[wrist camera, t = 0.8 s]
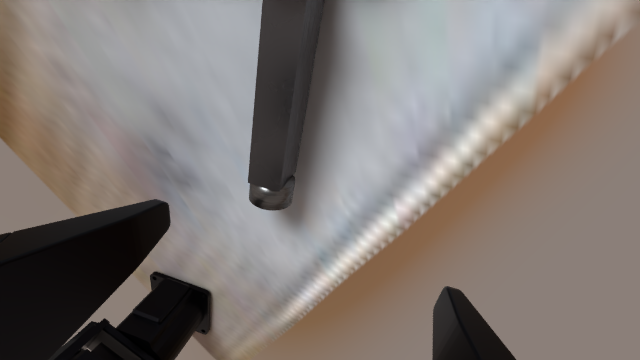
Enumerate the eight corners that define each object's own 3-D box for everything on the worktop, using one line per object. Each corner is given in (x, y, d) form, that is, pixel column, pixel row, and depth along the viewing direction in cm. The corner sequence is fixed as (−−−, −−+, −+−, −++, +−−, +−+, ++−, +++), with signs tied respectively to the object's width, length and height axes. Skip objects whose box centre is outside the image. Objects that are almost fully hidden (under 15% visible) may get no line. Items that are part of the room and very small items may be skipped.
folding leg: (290, -56, 15) (251, -92, 11) (342, -46, 14) (322, -81, 10) (264, 179, 21) (233, 209, 17) (300, 190, 21) (277, 223, 17)
